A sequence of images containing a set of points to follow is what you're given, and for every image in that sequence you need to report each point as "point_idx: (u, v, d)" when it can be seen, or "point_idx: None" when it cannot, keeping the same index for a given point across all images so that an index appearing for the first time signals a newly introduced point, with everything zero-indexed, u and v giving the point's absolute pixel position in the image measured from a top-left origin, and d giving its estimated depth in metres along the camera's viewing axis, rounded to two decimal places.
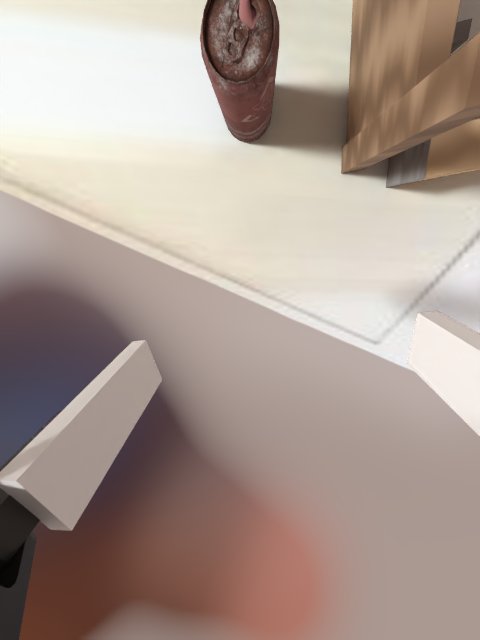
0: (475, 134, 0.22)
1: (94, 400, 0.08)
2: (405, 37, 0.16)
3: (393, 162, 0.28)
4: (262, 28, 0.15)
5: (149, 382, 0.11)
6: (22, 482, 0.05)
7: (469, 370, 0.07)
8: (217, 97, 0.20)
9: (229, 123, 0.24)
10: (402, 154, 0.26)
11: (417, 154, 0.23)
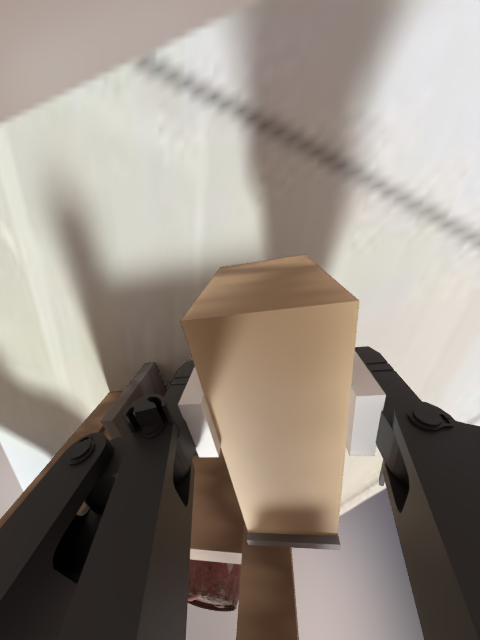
0: (262, 487, 0.09)
1: None
2: None
3: None
4: None
5: None
6: (201, 406, 0.07)
7: None
8: None
9: None
10: None
11: None
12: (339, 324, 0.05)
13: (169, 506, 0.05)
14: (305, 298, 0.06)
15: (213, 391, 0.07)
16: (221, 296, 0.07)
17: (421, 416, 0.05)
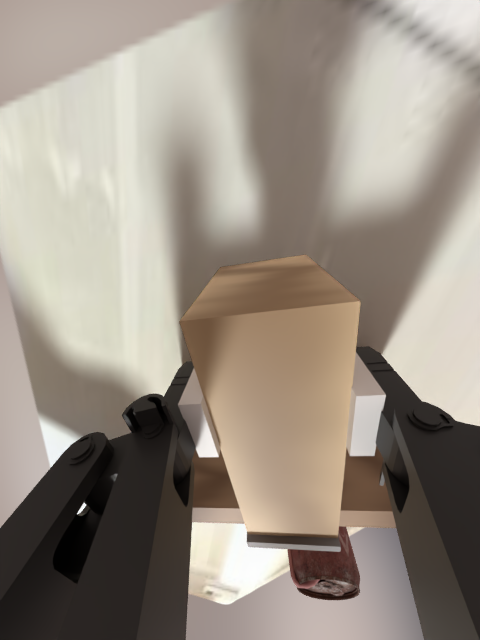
0: (262, 488, 0.09)
1: None
2: None
3: None
4: None
5: None
6: (201, 407, 0.07)
7: None
8: None
9: None
10: None
11: None
12: (340, 325, 0.05)
13: (169, 506, 0.05)
14: (306, 298, 0.05)
15: (212, 392, 0.07)
16: (221, 296, 0.07)
17: (421, 416, 0.05)
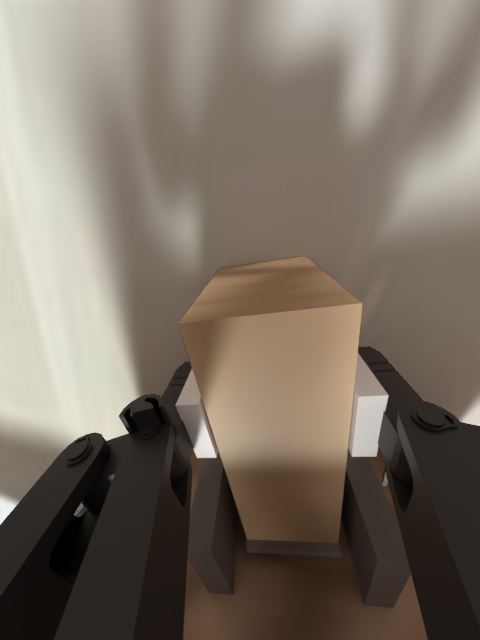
0: (261, 493, 0.09)
1: None
2: None
3: None
4: None
5: None
6: (198, 407, 0.07)
7: None
8: None
9: None
10: None
11: None
12: (342, 327, 0.05)
13: (166, 506, 0.05)
14: (306, 300, 0.05)
15: (211, 396, 0.06)
16: (220, 298, 0.07)
17: (425, 416, 0.05)
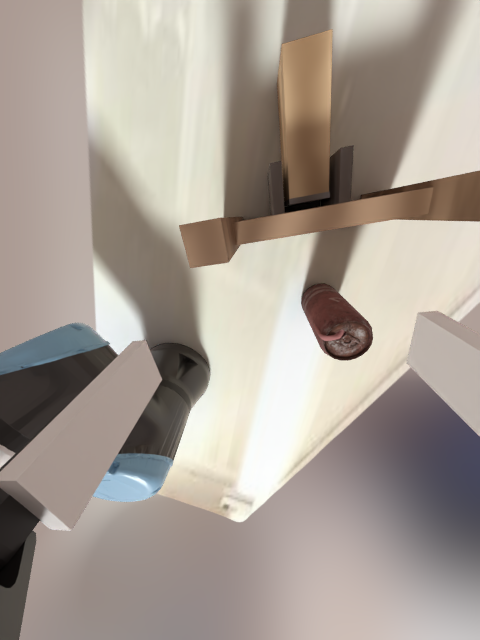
0: (298, 150, 0.23)
1: (94, 400, 0.08)
2: None
3: None
4: (348, 327, 0.24)
5: (149, 382, 0.11)
6: (22, 482, 0.05)
7: (469, 370, 0.07)
8: None
9: None
10: None
11: None
12: (327, 40, 0.19)
13: None
14: (317, 37, 0.19)
15: (287, 81, 0.20)
16: None
17: None
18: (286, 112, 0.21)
